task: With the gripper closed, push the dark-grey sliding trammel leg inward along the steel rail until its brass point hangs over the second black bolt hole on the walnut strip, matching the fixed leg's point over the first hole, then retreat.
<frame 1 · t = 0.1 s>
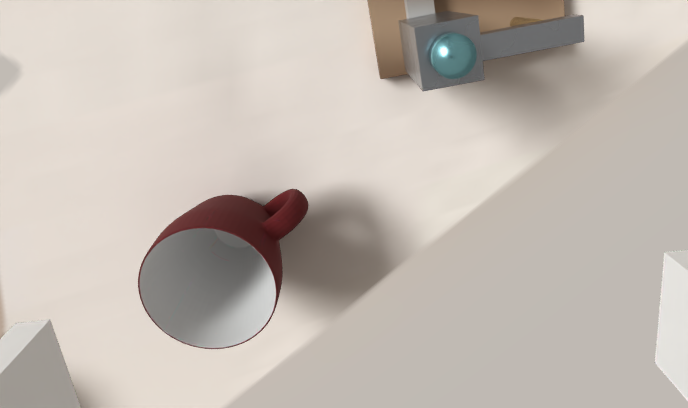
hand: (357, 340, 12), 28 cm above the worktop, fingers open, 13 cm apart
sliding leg: (483, 39, 29), point 8 cm above the worktop, slide at 0.0 cm
mug: (250, 212, 41), on the worktop
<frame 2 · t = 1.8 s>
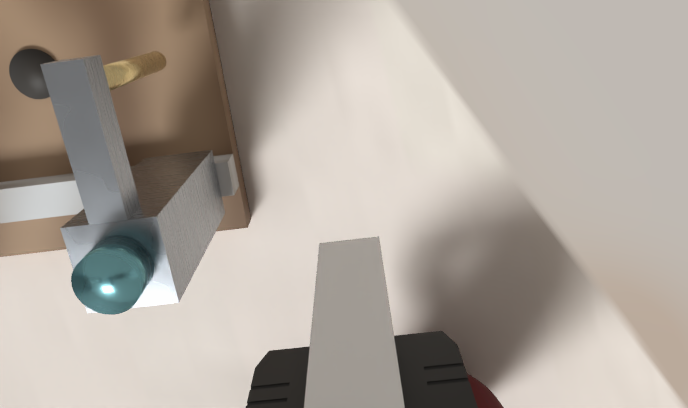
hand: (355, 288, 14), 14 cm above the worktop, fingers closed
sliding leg: (138, 163, 20), point 7 cm above the worktop, slide at 0.0 cm
mug: (420, 374, 32), on the worktop
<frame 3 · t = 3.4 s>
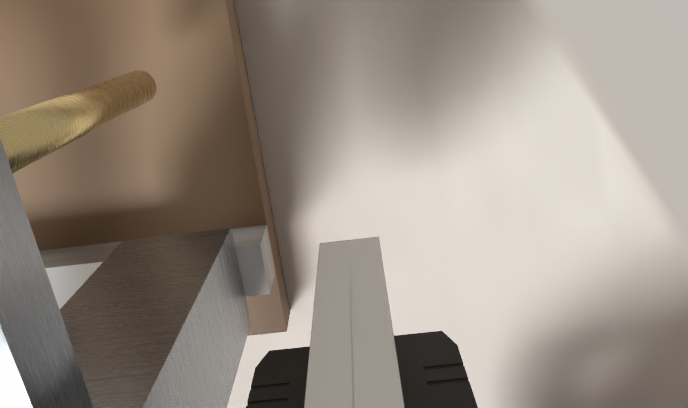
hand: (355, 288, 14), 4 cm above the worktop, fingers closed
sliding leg: (97, 287, 10), point 7 cm above the worktop, slide at 0.1 cm, touching gripper, hand
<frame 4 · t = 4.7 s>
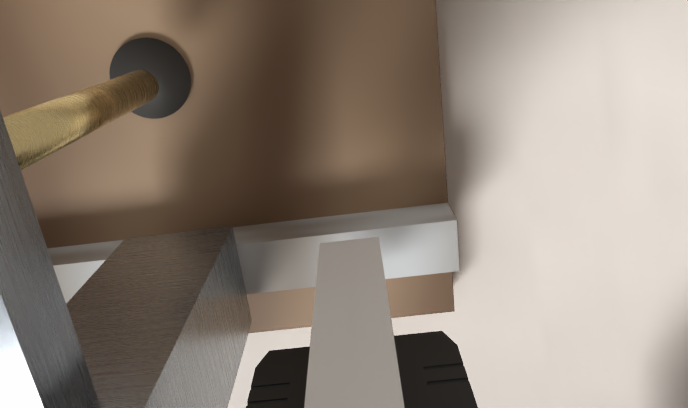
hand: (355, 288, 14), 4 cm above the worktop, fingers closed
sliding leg: (101, 284, 11), point 8 cm above the worktop, slide at 5.7 cm, touching hand
hole strip: (28, 172, 18), on the worktop
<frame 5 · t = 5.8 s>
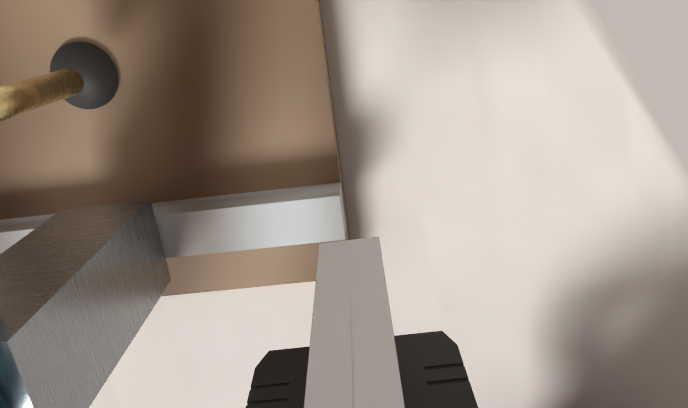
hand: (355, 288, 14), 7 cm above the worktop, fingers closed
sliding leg: (17, 235, 14), point 7 cm above the worktop, slide at 5.7 cm
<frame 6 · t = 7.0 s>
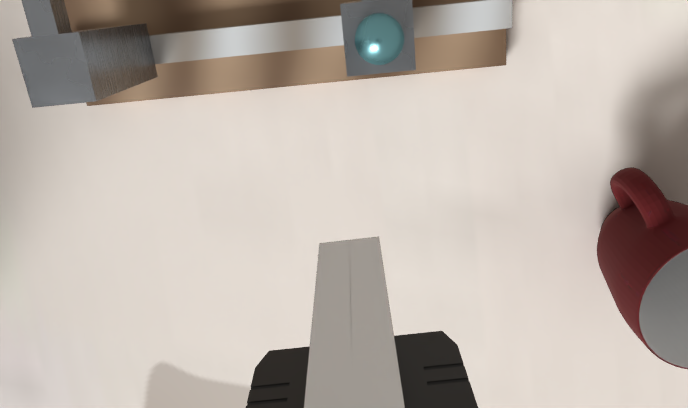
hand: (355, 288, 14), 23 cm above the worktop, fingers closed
mug: (619, 215, 38), on the worktop
fixed leg: (145, 48, 35), resting on hole strip
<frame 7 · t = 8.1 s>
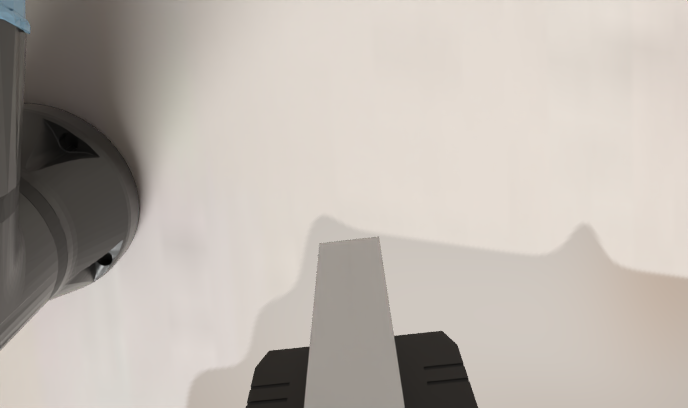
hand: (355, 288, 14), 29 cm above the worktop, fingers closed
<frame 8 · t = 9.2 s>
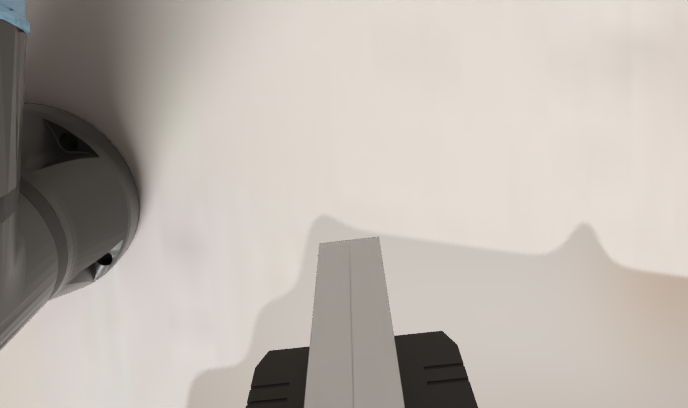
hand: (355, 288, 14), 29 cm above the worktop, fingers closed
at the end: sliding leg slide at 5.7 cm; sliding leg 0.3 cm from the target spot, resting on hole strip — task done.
